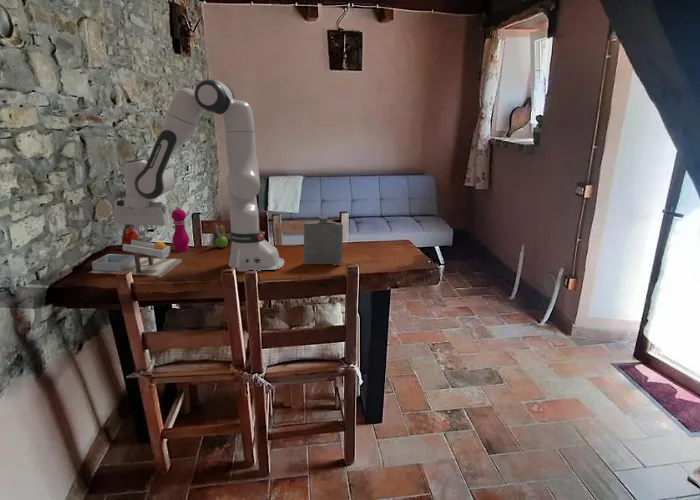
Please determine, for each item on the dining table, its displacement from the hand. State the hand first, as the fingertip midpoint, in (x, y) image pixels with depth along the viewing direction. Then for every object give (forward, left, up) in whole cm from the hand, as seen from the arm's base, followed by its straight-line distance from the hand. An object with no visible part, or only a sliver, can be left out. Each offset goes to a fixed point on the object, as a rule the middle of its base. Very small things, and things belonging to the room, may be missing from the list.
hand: (142, 235), depth 179 cm
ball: (-12, +10, -1) cm, 15 cm away
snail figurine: (-23, -25, -12) cm, 36 cm away
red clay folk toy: (+15, -17, -12) cm, 26 cm away
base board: (0, +7, -11) cm, 13 cm away
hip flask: (-72, -8, -12) cm, 73 cm away
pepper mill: (-7, -19, -12) cm, 23 cm away
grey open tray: (+7, +10, -10) cm, 16 cm away
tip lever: (-6, +5, -5) cm, 9 cm away
